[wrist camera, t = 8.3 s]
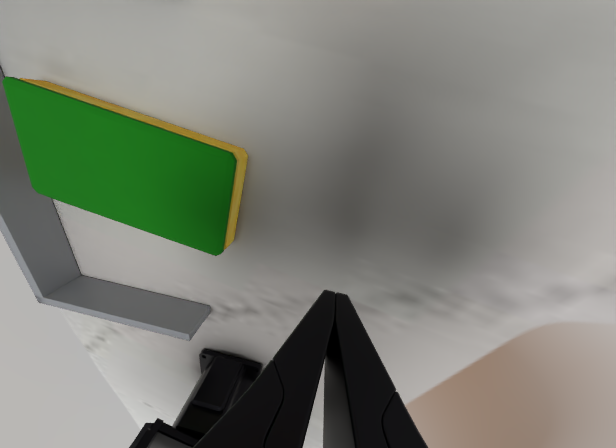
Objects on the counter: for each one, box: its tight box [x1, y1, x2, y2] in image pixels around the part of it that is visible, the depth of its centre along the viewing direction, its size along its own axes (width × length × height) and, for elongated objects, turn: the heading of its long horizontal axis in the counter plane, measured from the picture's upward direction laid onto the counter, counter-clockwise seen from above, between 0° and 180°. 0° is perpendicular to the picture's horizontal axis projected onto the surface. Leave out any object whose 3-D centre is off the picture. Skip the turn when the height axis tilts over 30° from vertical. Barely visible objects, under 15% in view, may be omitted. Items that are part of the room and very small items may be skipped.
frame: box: [0, 68, 210, 341], centre depth 15 cm, size 23×14×3 cm, turn 172°
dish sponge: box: [2, 77, 248, 256], centre depth 15 cm, size 7×14×2 cm, turn 73°
